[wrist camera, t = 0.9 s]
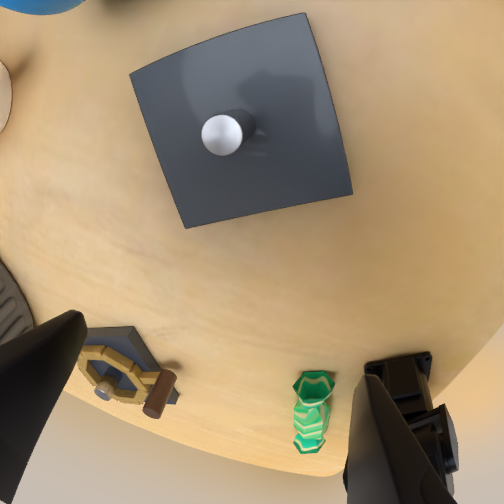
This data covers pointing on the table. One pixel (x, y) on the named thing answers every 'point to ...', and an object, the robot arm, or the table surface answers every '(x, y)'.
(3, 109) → the mug
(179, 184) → the near stand
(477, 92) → the table surface
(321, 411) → the candy
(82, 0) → the alarm clock
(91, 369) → the ring
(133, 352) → the far stand
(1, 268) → the decorative lamp
